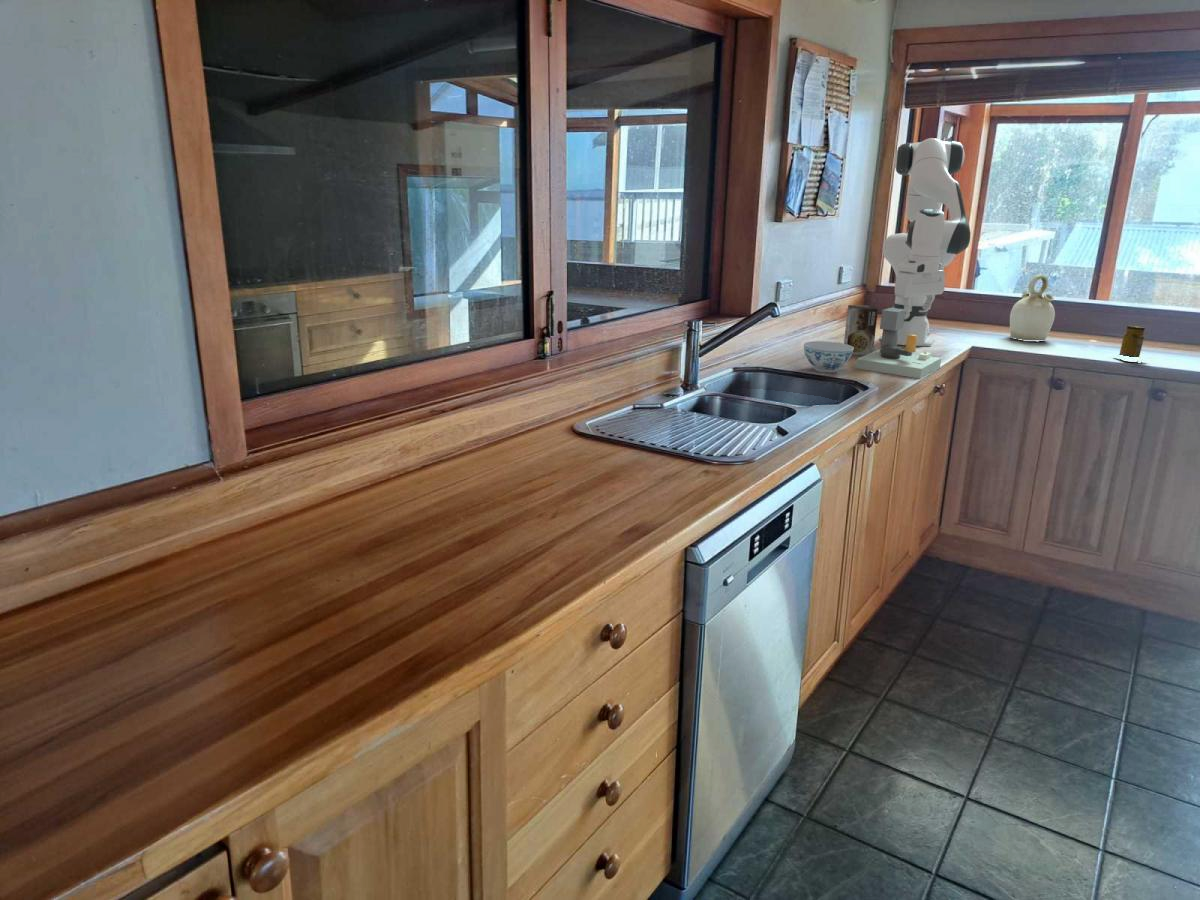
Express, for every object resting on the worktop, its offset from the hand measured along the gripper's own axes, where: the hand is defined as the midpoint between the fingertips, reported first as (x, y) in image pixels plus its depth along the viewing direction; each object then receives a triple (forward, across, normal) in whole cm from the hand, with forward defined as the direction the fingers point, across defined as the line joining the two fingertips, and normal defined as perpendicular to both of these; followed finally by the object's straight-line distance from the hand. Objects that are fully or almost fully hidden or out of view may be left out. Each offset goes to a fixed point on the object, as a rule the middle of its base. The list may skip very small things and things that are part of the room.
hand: (917, 310), depth 262 cm
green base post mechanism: (+19, 0, -4) cm, 19 cm away
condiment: (+21, -89, +26) cm, 95 cm away
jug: (+21, -94, -15) cm, 98 cm away
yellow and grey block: (+16, +1, -4) cm, 16 cm away
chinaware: (+19, +25, -12) cm, 33 cm away
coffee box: (+19, -7, -26) cm, 33 cm away
